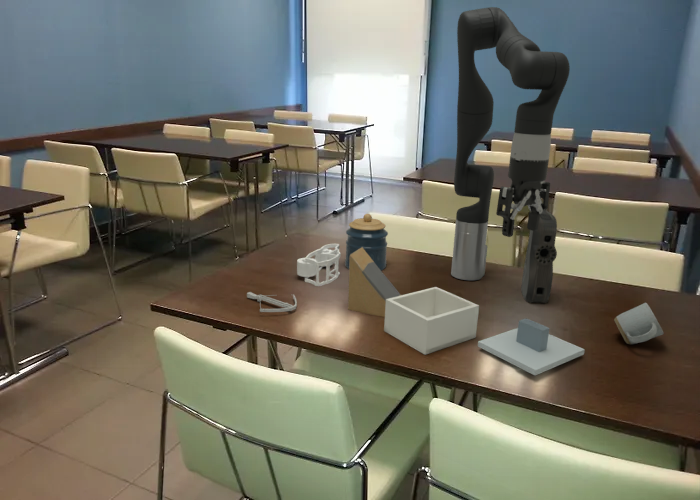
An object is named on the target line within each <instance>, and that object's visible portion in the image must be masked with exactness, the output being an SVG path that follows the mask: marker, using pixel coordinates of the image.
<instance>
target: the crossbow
mask: <svg viewBox="0 0 700 500" xmlns="http://www.w3.org/2000/svg"><path fill="white" fill-rule="evenodd" d="M270 296H276V294H270V295H269V294H268V295H266V294H265V295H263V294H255V293H254V292H252V291H248V292H247V293H246V298H248V299H252V300H257V302H259V307H260V309H259V313H281V312H282V313H284V312H292V311H294V310H296V309H297V307H298V306H297V303H298V302H297V301H298V300H297V297H296V296H295V294H292V298H293V300H294V305H293V304H290V303H288V302H283V301H281V300H278V299H275V298H272V297H270ZM262 301H264V302H265V303H266V302H267V303H269V304H273V305H275V306H278V307H281V308H262V307H261V303H260V302H262Z"/></svg>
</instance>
